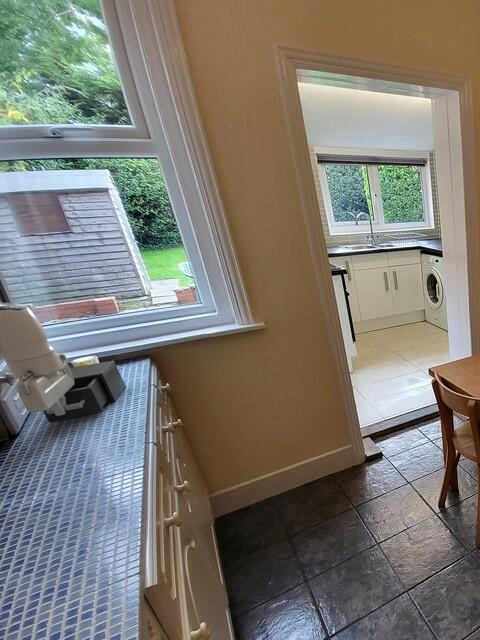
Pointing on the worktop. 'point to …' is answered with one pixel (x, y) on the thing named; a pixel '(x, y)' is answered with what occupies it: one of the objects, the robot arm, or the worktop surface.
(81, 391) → the drawer
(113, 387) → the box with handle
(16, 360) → the robot arm
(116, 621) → the worktop surface
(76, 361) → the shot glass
